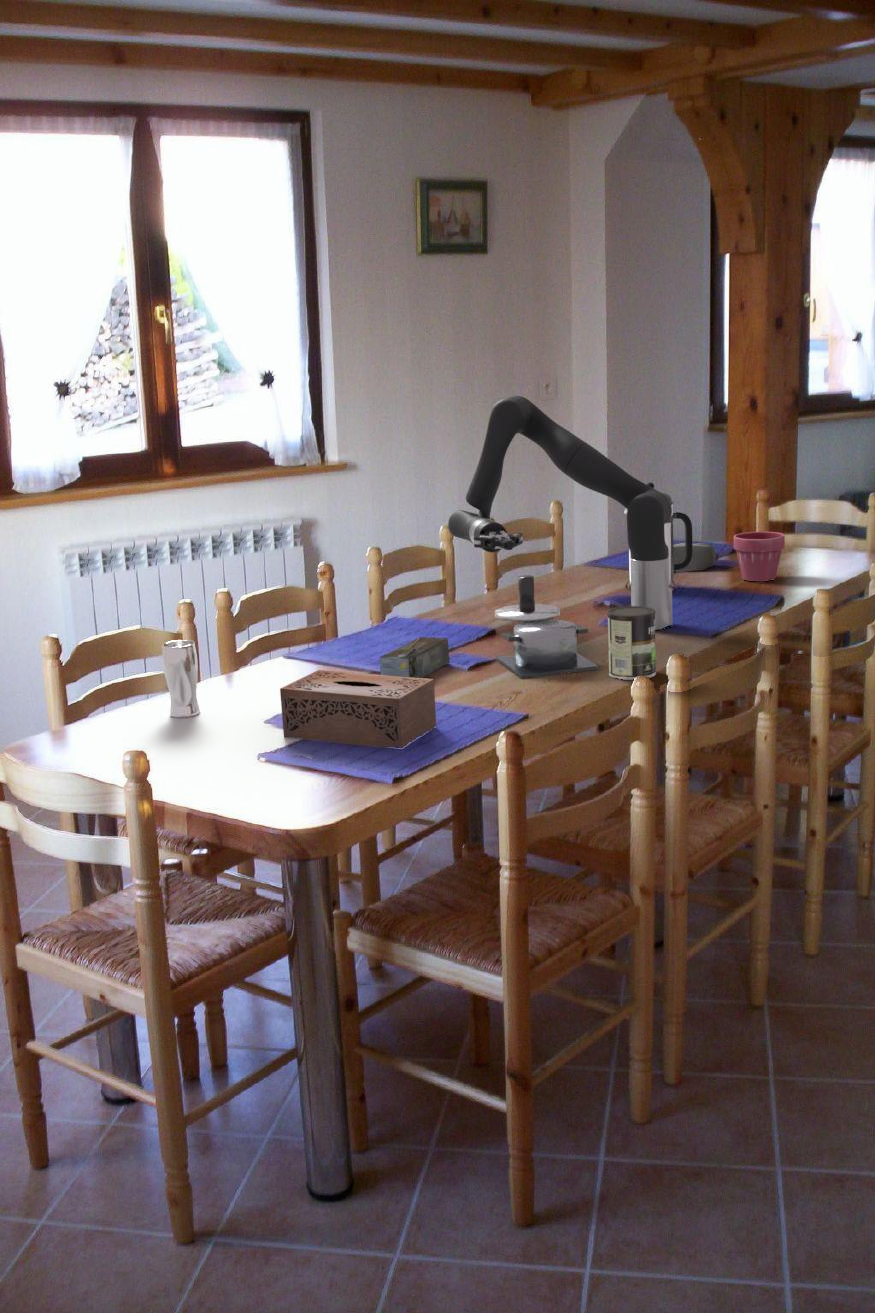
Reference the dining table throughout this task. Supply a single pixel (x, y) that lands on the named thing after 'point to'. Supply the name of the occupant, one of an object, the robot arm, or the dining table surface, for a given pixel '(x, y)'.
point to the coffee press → (669, 541)
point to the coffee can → (631, 642)
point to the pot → (545, 649)
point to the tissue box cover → (358, 708)
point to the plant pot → (759, 554)
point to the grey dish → (695, 556)
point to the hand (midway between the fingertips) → (509, 545)
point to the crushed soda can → (181, 677)
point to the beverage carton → (416, 658)
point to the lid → (527, 605)
